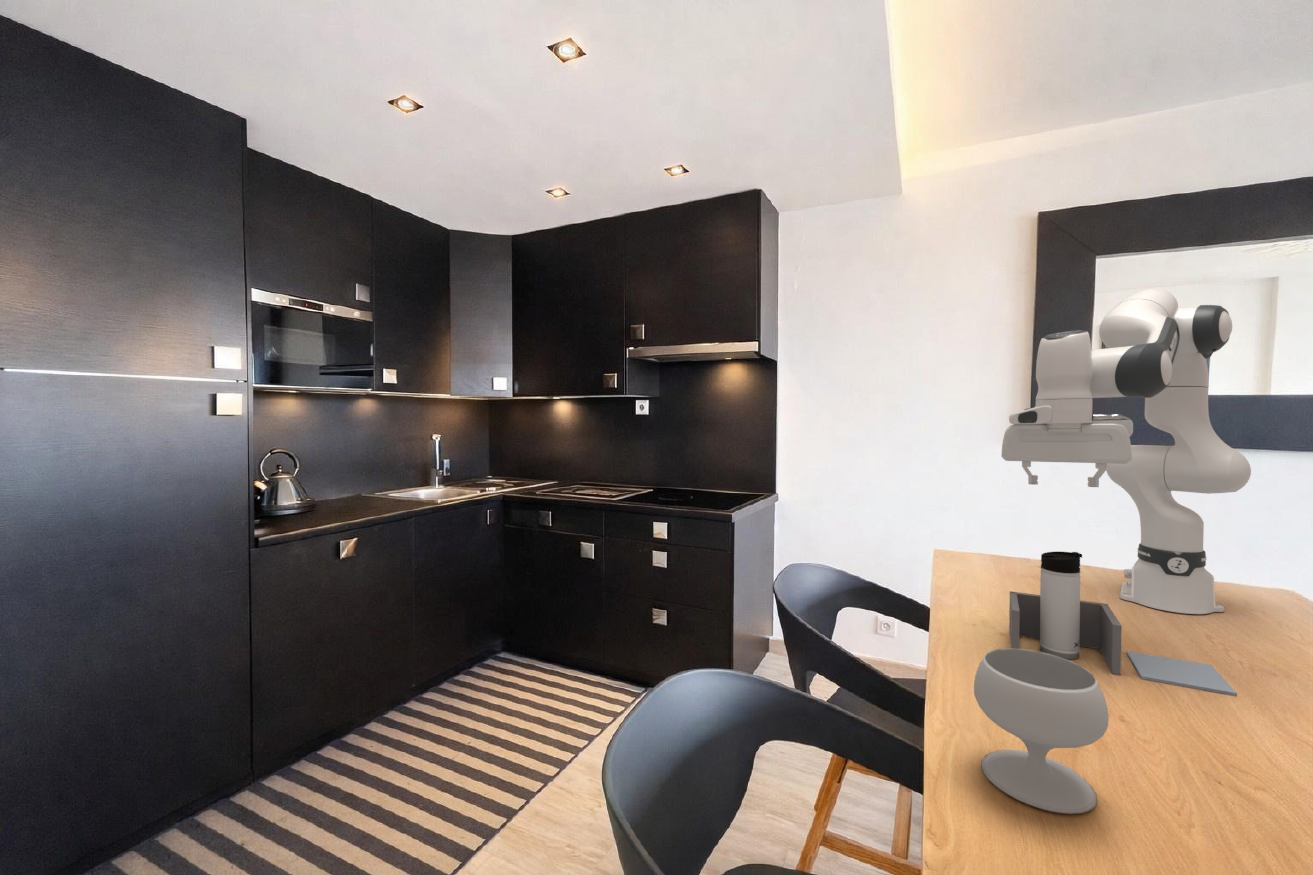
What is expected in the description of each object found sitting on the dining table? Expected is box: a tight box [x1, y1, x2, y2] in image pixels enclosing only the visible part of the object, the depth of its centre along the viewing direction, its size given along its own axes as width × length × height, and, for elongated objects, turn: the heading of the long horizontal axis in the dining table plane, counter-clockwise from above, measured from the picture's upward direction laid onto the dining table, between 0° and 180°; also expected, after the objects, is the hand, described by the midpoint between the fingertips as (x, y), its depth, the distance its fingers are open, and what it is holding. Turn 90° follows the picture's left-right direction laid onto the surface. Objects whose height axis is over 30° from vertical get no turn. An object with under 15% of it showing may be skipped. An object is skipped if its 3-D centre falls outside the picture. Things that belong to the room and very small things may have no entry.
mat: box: [1126, 650, 1238, 697], centre depth 98 cm, size 12×12×1 cm
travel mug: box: [1039, 551, 1083, 660], centre depth 106 cm, size 6×7×20 cm
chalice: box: [973, 647, 1110, 815], centre depth 69 cm, size 14×14×15 cm
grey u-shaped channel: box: [1008, 590, 1123, 676], centre depth 107 cm, size 13×16×9 cm
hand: (1062, 485), depth 106 cm, fingers open, 8 cm apart
